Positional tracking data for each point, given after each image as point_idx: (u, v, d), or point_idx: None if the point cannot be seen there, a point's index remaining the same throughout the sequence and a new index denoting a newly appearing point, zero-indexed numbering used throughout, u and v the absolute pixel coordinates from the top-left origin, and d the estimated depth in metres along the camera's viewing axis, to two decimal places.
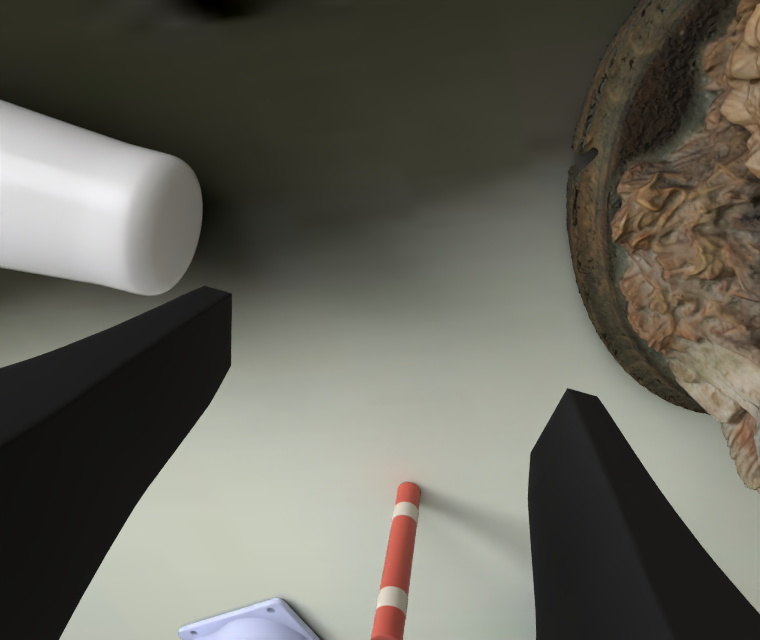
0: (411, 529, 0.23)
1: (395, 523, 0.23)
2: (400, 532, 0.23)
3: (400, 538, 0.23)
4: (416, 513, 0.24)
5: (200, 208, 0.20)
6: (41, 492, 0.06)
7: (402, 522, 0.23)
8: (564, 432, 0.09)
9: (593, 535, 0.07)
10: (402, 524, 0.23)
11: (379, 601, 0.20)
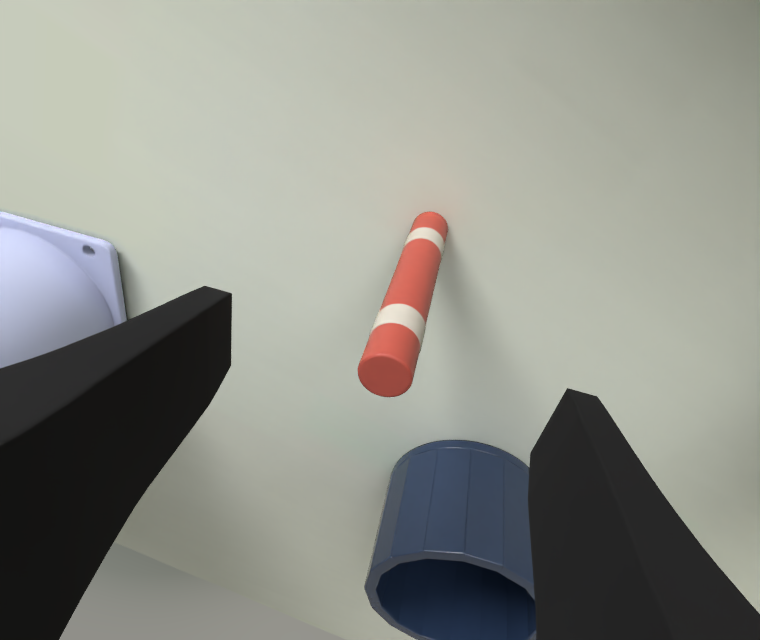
0: (438, 266, 0.15)
1: (423, 245, 0.14)
2: (429, 258, 0.14)
3: (429, 265, 0.14)
4: (442, 255, 0.16)
5: None
6: (41, 493, 0.06)
7: (432, 250, 0.15)
8: (564, 432, 0.09)
9: (593, 535, 0.07)
10: (432, 252, 0.14)
11: (392, 316, 0.11)
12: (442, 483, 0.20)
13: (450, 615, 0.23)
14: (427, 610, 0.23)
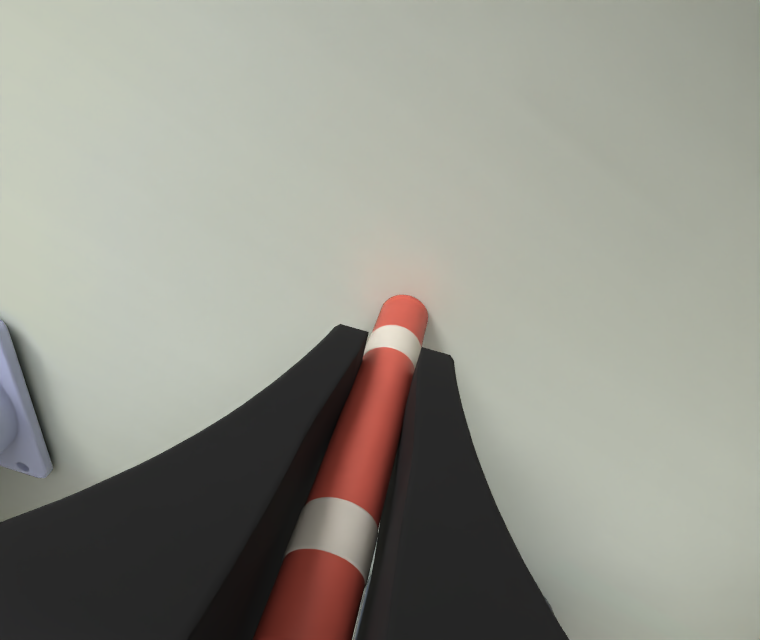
0: None
1: (386, 361, 0.10)
2: (394, 386, 0.10)
3: (393, 399, 0.09)
4: None
5: None
6: (260, 562, 0.06)
7: (401, 368, 0.10)
8: (411, 388, 0.09)
9: (402, 477, 0.08)
10: (400, 372, 0.10)
11: (319, 531, 0.07)
12: None
13: None
14: None
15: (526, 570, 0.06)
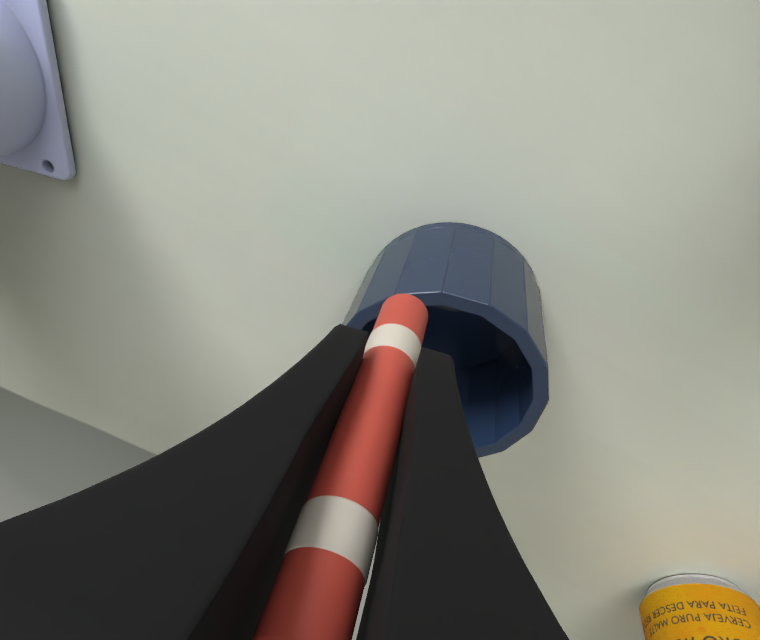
0: None
1: (386, 359, 0.10)
2: (395, 384, 0.10)
3: (393, 397, 0.09)
4: None
5: None
6: (260, 563, 0.06)
7: (401, 366, 0.10)
8: (411, 388, 0.09)
9: (402, 477, 0.08)
10: (400, 370, 0.10)
11: (319, 530, 0.07)
12: (420, 250, 0.18)
13: None
14: None
15: (526, 570, 0.06)
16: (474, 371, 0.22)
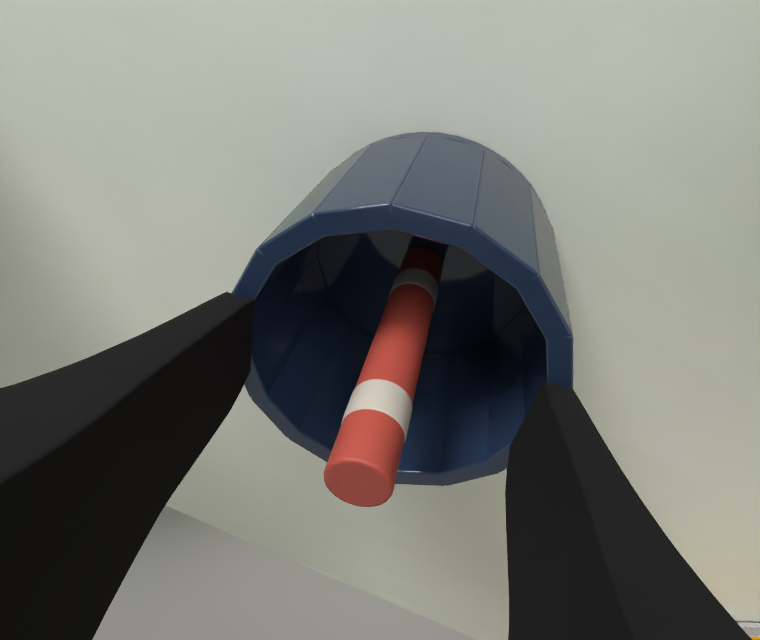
0: (431, 317, 0.12)
1: (411, 293, 0.12)
2: (419, 311, 0.12)
3: (418, 319, 0.12)
4: None
5: None
6: (76, 504, 0.06)
7: (423, 299, 0.12)
8: (539, 425, 0.09)
9: (562, 526, 0.07)
10: (423, 301, 0.12)
11: (370, 398, 0.09)
12: (370, 161, 0.11)
13: None
14: None
15: None
16: (461, 355, 0.16)
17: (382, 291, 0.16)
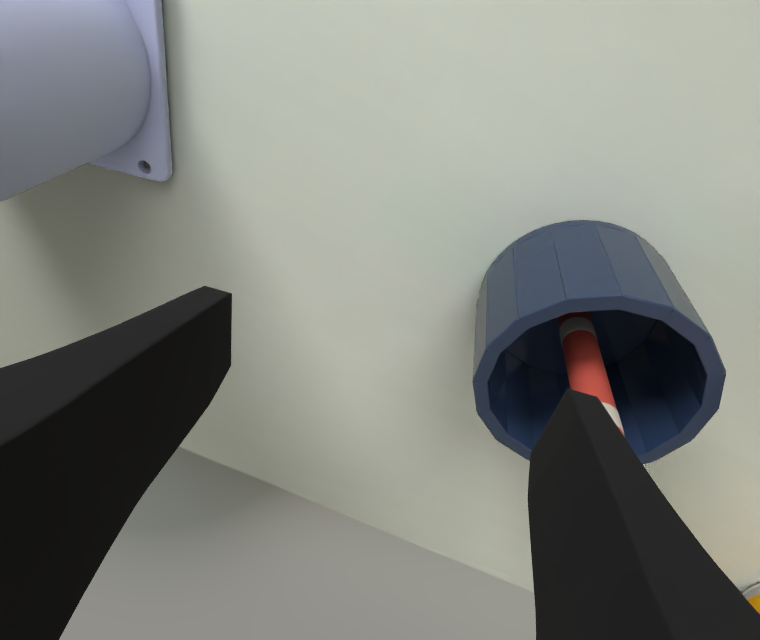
0: None
1: (587, 337, 0.17)
2: (596, 351, 0.17)
3: (599, 357, 0.17)
4: None
5: None
6: (41, 493, 0.06)
7: (594, 341, 0.18)
8: (564, 432, 0.09)
9: (593, 535, 0.07)
10: (595, 343, 0.17)
11: None
12: (567, 250, 0.17)
13: None
14: (536, 430, 0.19)
15: None
16: None
17: (535, 328, 0.21)
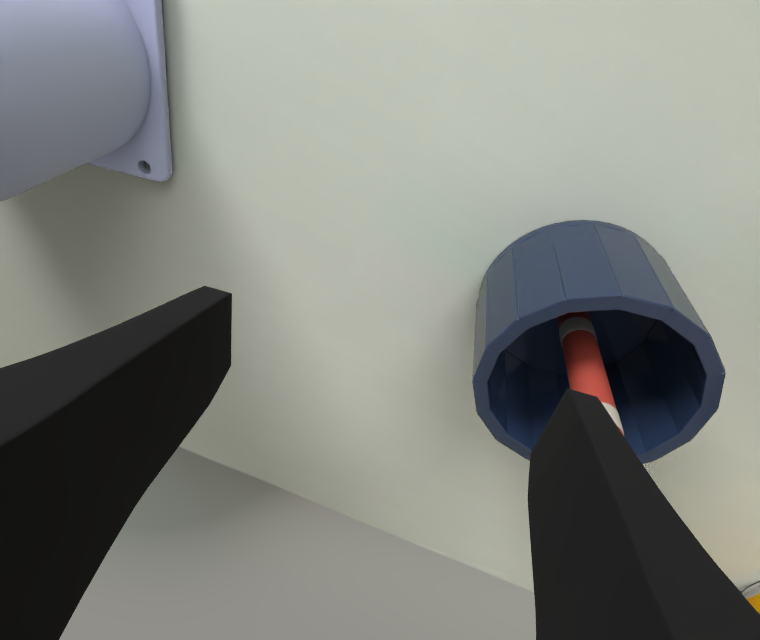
0: None
1: (586, 337, 0.17)
2: (596, 351, 0.17)
3: (599, 357, 0.17)
4: None
5: None
6: (41, 493, 0.06)
7: (594, 341, 0.18)
8: (564, 432, 0.09)
9: (593, 535, 0.07)
10: (595, 343, 0.17)
11: None
12: (567, 250, 0.17)
13: None
14: (536, 429, 0.19)
15: None
16: None
17: (535, 328, 0.21)
